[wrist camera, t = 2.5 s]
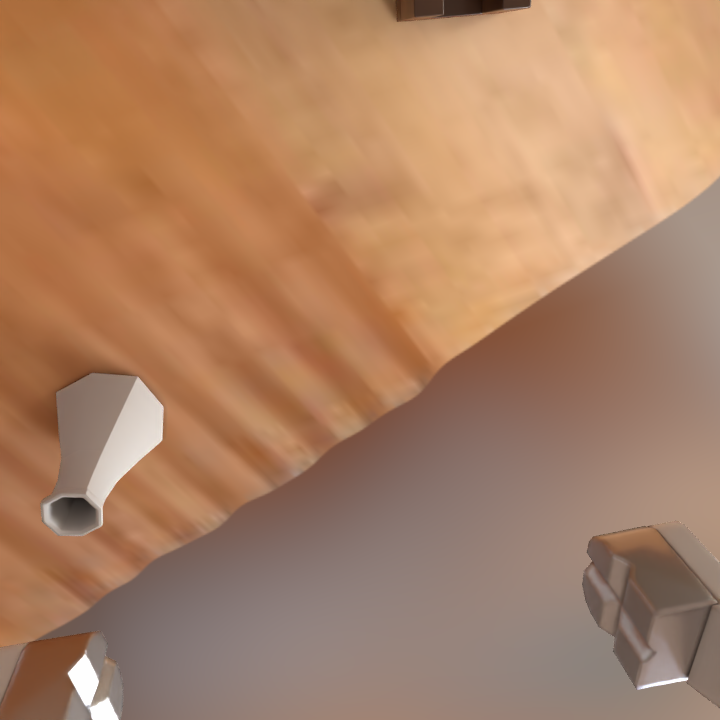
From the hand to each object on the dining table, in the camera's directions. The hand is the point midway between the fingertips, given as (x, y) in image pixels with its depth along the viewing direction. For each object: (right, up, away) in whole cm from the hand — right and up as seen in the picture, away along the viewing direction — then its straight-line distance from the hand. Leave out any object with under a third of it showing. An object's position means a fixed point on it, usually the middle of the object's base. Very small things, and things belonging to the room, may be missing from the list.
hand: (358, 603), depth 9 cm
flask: (-17, 0, +30) cm, 35 cm away
